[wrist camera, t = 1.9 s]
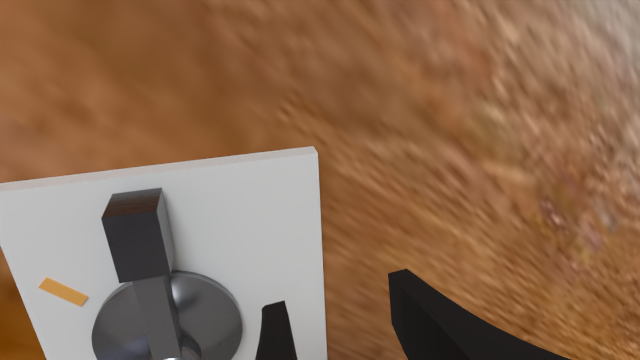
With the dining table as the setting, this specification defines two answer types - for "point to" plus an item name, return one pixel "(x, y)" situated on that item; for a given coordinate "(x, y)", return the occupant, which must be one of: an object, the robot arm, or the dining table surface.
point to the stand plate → (189, 243)
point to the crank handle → (159, 292)
